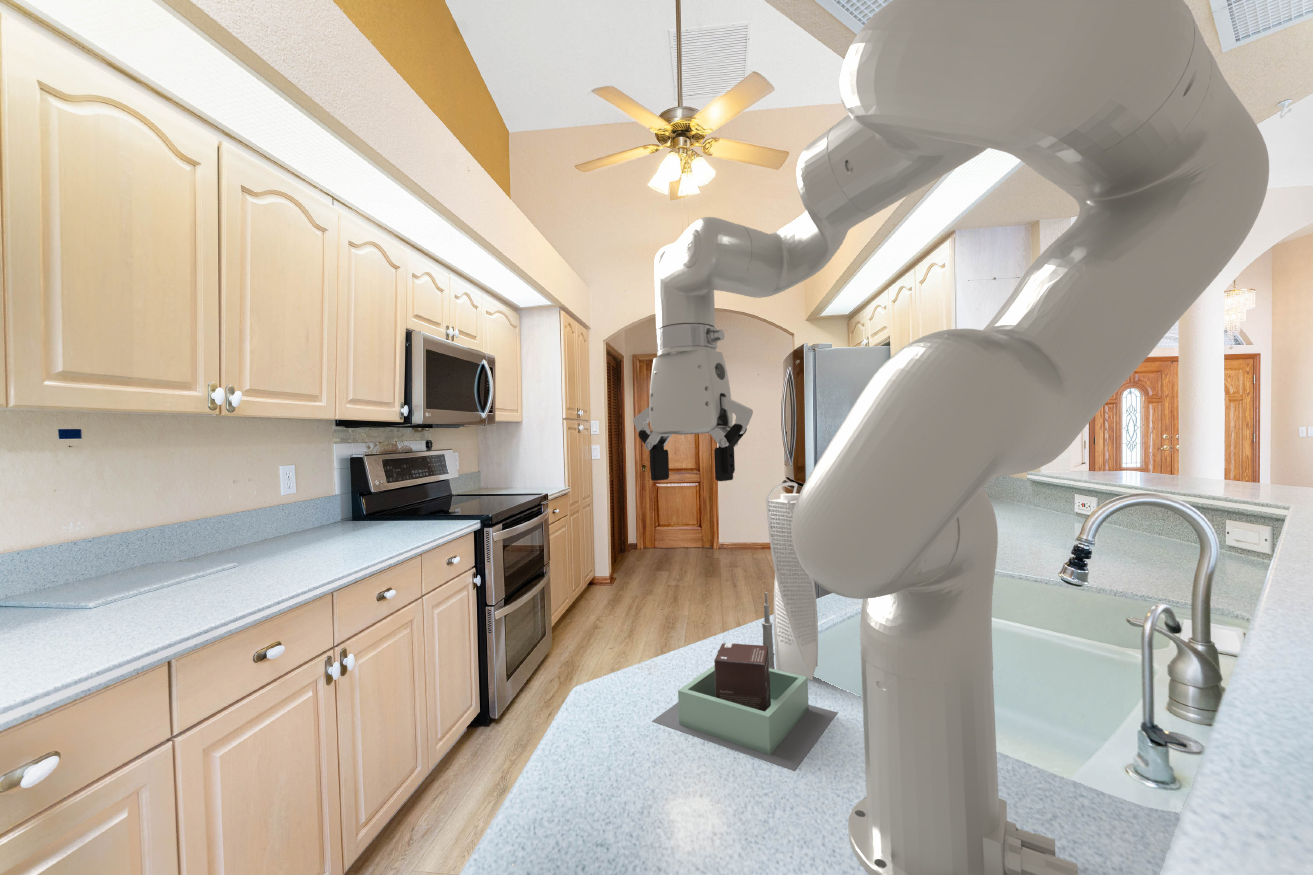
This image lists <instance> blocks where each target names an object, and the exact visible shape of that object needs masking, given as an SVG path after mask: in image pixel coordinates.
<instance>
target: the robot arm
mask: <svg viewBox="0 0 1313 875" xmlns="http://www.w3.org/2000/svg"><path fill="white" fill-rule="evenodd" d="M840 70H841V71H840V73H839V82H838V83H839V84H838V88H839V94H840V100H841V102H842V105H843V107H844V109H845V111H846V113H847V115H846V116H844V117H843V118H841V119H840V120H839V121H838V122H837V123H835V124H834V125H833V126H831V127H830V128H828V129H826V131H825V132H824V133H822V134H820V135H819V136H818V137H817V138H815V139H814V140H813V141H812V142H810V143H809V144H807V145H806V146H805V147H804V148H803V150H802V151H801V153H800V155H799V157H798V160H797V162H796V168H795V177H796V178H795V179H796V186H797V190H798V194H799V196H800V200H801V202H802V205H803V207H804V209H805V211H804V212H803V213H802V214H800V215H799V216H797V218H795V219H794V220H792V221H790V222H789V223H788V224H785V225H784V226H783V227H781V228H780V229H778V230H776V231H774V232H771V233H768V232H765V231H762V230H758V229H755V228H752V227H749V226H745V225H743V224H739V223H734V222H732V221H729V220H727V219H726V220H725V219H723V218H718V217H715V216H704V217H701V218H698V219H696V220H695V221H693V223H691V224H690V225H689V226H688V227H687V228H686V229H685V230H684V231H683V233H682V234H681V235H680V236H679V237H678V239H676V240H675V242H673V243H669V244H667V245H665V246H663V247H661V248H660V249H659V250H658V251H657V252H656V254H655V257H654V261H653V265H654V266H653V272H654V275H653V276H654V277H653V278H654V300H655V301H654V302H655V303H654V305H655V329H656V332H655V333H656V334H655V335H656V357H654V358H653V362H652V365H651V366H652V367H651V373H650V384H649V385H650V386H649V402H648V403H649V406H648V407H646V408H645V409H643V410H642V411H641V412H639V414H637V415H635V417H634V418H633V419H632V420H633V424H634V427H635V429H636V431H637V433H638V438H639V440H640V441H641V442H642V443H643V444H644V447H645V450H647V451H649V472H650V480H651V481H652V482H655V481H656V482H657V481H666V480H669V478H670V464H669V463H670V461H669V451H668V450H669V449H665V447H666V445H667V444H668V443H669V441H670V439H671V438H672V435H676V436H677V435H681V436H683V435H699V434H700V435H701V434H709V435H710V436H711V437H712V438H713V440H714V441H715V442H716V443H717V445H718V447H714V476H715V480H716V481H717V482H727V481H733V479H734V474H735V470H736V466H735V448H736V447H737V446H738V445H739V441H740V440H741V439H743V438H742V437H743V436H744V435H745V434H746V433H747V429H748V428H747V427H748V426H749V424H750V421H751V419H752V416H753V414H754V411H753V409H752V408H751V407H748V406H746V405H745V404H742V403H740V402H738V401H736V400H734V399H732V394H731V387H730V381H729V374H728V370H727V366H726V361H725V358H724V357H725V356H724V354H723V352H721V351H717V349H718V342H720V341H724V340H725V332H724V330H723V329H717V327H716V309H715V308H716V307H715V304H716V303H715V291H718V292H725V293H731V294H735V295H740V296H745V297H749V298H754V299H756V298H757V299H760V298H761V299H762V298H768V297H772V296H776V295H778V294H781V293H783V292H785V291H786V290H787V291H788V290H789V289H791V288H793V287H795V286H796V285H799V284H800V283H802V282H804V281H806V280H808V279H809V278H811V277H813V276H814V275H816V274H817V273H819V272H820V271H821V270H822V269H823V268H825V267H826V265H828V263H829V262H830V261H831V259H833V258H834V256H835V255H836V253H837V252H838V250H839V249H840V248H841V246H842V245H843V243H844V241H845V239H846V237H847V234H848V232H849V231H850V230H851V229H852V228H854V227H856V226H858V225H859V224H860V223H862V222H864V221H866V220H867V219H869V218H871V217H873V216H875V215H876V214H878V213H880V212H881V211H883V210H885V209H887V208H888V207H890V206H892V205H894V204H895V203H897V202H899V201H902V199H904V198H906V197H907V196H909V195H911V194H913V193H915V192H917V191H919V189H922V188H923V187H925V186H927V185H929V184H930V183H932V182H934V181H936V180H938V179H940V178H941V177H943V176H944V175H946V174H948V173H950V172H952V171H953V170H955V169H957V168H959V167H960V166H963V165H964V164H966V163H967V162H969V161H970V160H972V159H975V158H976V157H977V156H979V155H981V154H982V153H983V152H985V151H987V150H988V149H991V150H997V151H999V152H1004V153H1007V154H1010V155H1012V156H1014V157H1015V158H1016V159H1018V160H1020V161H1021V162H1022V163H1024V164H1025V165H1027V166H1028V167H1029V168H1030V169H1031V170H1033V171H1034V172H1035V173H1037V174H1039V175H1040V176H1042V177H1043V178H1044V179H1045V180H1048V181H1049V182H1051V183H1053V184H1054V185H1056V186H1057V187H1058V188H1060V189H1061V190H1062V191H1064V192H1065V193H1067V194H1068V195H1070V196H1071V197H1072V198H1073V199H1074V200H1075V201H1076V202H1077V204H1078V207H1079V212H1078V215H1077V217H1076V219H1075V220H1074V222H1073V223H1072V224H1071V225H1070V226H1069V227H1068V228H1067V229H1066V230H1065V231H1064V232H1063V233H1062V234H1061V235H1060V236H1059V237H1057V238H1055V240H1054V241H1053V242H1052V243H1051V244H1050V245H1049V246H1048V247H1046V249H1045V250H1043V252H1041V254H1040V255H1039V256H1038V257H1037V258H1036V259H1035V260H1034V261H1033V262H1032V264H1031V265H1030V266H1029V268H1028V269H1027V270H1026V271H1025V272H1024V274H1023V276H1022V277H1021V278H1020V280H1019V281H1018V283H1017V285H1016V287H1015V288H1014V289H1013V291H1012V292H1011V294H1010V295H1009V296H1008V298H1007V299H1006V301H1005V302H1004V303H1003V304H1002V306H1001V307H1000V309H998V311H997V312H996V314H995V315H994V316H993V317H992V319H991V320H990V321H989V322H988V324H987V325H986V326H985V327H984V328H983V329H976V328H951V329H950V328H949V329H943V330H938V331H936V332H935V331H934V332H931V333H928V334H926V335H923V336H921V337H918V338H917V339H915V340H913V341H911V342H910V343H908V344H906V345H905V346H903V347H901V348H900V349H898V351H897V352H895V353H894V354H892V356H890V358H888V359H887V360H886V361H885V362H884V363H883V364H882V365H881V366H880V367H879V369H878V370H876V372H875V373H874V375H873V376H872V377H871V378H870V379H869V381H868V382H867V384H866V385H865V386H864V388H863V390H862V391H861V393H860V394H859V396H857V397H858V398H857V399H856V401H855V402H854V403H853V405H852V407H851V408H850V410H849V412H848V414H847V415H846V417H845V418H844V420H843V421H842V423H841V424H840V426H839V428H838V429H837V431H836V432H835V434H834V436H833V437H832V439H831V440H830V442H829V443H828V445H827V446H826V448H825V449H824V451H823V453H822V455H821V456H820V457H819V459H818V461H817V462H816V464H815V465H814V466H813V469H812V471H811V472H810V473H809V475H808V477H807V478H806V481H805V482H804V484H803V486H802V488H801V489H800V492H799V493H798V494H799V496H798V499H797V502H796V505H795V508H794V513H793V518H792V539H793V545H794V549H795V553H796V555H797V558H798V560H799V562H800V564H801V566H802V567H803V569H804V571H805V572H806V573H807V574H808V576H809V577H810V578H811V579H812V580H813V581H814V583H815V584H817V585H818V586H819V587H821V588H822V589H824V590H826V591H828V592H830V593H832V594H834V595H837V596H840V597H844V598H848V599H856V600H862V603H861V612H860V622H859V623H860V625H859V626H860V627H859V628H860V630H859V633H860V634H859V636H860V637H859V640H860V671H861V673H860V674H861V694H862V696H861V697H862V698H861V699H862V700H861V701H862V718H863V720H862V722H863V740H864V741H863V742H864V768H865V769H864V770H865V771H864V772H865V774H864V775H865V792H866V795H865V797H864V798H862V799H861V800H859V801H858V802H857V803H856V804H855V805H854V806H853V807H852V809H851V811H850V813H849V816H848V823H847V832H848V842H849V844H850V848H851V851H852V853H853V855H854V856H855V858H856V860H857V861H858V863H859V864H860V866H861V867H862V869H863V870H864V871H866V873H867V874H868V875H1079V873H1078V871H1079V870H1078V863H1076V862H1073V861H1070V860H1067V859H1064V858H1061V857H1058V856H1056V853H1057V852H1056V839H1055V838H1051V837H1048V836H1045V835H1043V834H1040V833H1036V832H1034V833H1033V832H1030V831H1026V830H1023V829H1021V828H1019V827H1018V825H1017V823H1015V822H1013V821H1009V820H1008V806H1007V803H1008V802H1007V801H1006V800H1005V799H1003V798H1000V796H999V777H998V775H999V774H998V755H997V754H998V753H997V736H996V735H997V733H996V714H995V713H996V712H995V711H996V710H995V693H994V691H995V690H994V672H993V671H994V656H993V655H994V654H993V653H994V652H993V630H992V629H993V628H992V627H993V625H992V623H993V619H992V618H993V617H992V616H993V614H992V613H993V596H994V594H993V593H994V582H995V574H996V573H995V572H996V564H997V559H998V558H997V555H998V545H999V544H998V543H999V536H998V532H999V531H998V523H997V516H996V513H995V509H994V505H993V504H992V502H991V500H990V498H989V495H988V494H987V492H986V491H985V490H984V488H985V487H986V486H987V484H989V483H990V482H991V480H992V479H994V478H1001V477H1009V476H1014V475H1020V474H1023V473H1028V472H1032V471H1036V470H1038V469H1040V468H1043V467H1044V466H1047V465H1048V464H1050V463H1052V462H1054V461H1055V460H1056V459H1057V458H1058V457H1060V456H1061V455H1062V454H1063V453H1065V451H1067V449H1068V448H1069V447H1070V446H1071V445H1072V444H1073V443H1074V441H1075V440H1076V439H1077V438H1078V436H1079V435H1080V434H1081V433H1082V431H1083V430H1084V429H1085V428H1086V427H1087V425H1089V424H1090V422H1091V421H1092V420H1093V418H1094V417H1095V416H1096V414H1097V413H1098V412H1099V411H1101V409H1103V407H1104V405H1106V403H1107V402H1108V401H1109V400H1110V399H1112V397H1113V396H1114V394H1116V393H1117V391H1118V390H1119V389H1120V388H1121V387H1122V385H1124V383H1125V382H1126V381H1127V380H1128V379H1129V378H1130V377H1131V376H1132V375H1133V373H1135V371H1136V370H1137V369H1138V368H1139V367H1140V366H1141V365H1142V363H1144V362H1145V360H1146V359H1147V358H1148V356H1150V354H1151V353H1152V352H1153V350H1154V349H1155V348H1156V346H1158V345H1159V343H1160V342H1161V340H1162V339H1163V338H1164V337H1165V336H1166V334H1167V333H1168V332H1170V330H1172V327H1174V325H1175V324H1176V323H1177V322H1178V321H1179V320H1180V319H1181V318H1182V316H1183V315H1184V314H1185V313H1186V312H1187V311H1188V310H1189V309H1190V307H1192V305H1193V304H1194V303H1195V302H1196V301H1197V300H1198V299H1199V298H1200V296H1202V294H1203V293H1204V292H1205V291H1206V289H1207V288H1208V287H1209V286H1210V285H1211V284H1212V283H1213V281H1215V280H1216V278H1217V277H1218V276H1219V275H1220V273H1221V272H1222V271H1223V270H1224V268H1225V267H1226V266H1227V265H1228V264H1229V262H1230V261H1231V260H1232V258H1233V257H1234V256H1235V255H1236V253H1237V252H1238V250H1239V249H1240V248H1241V246H1242V245H1243V243H1244V242H1245V241H1246V238H1247V237H1248V235H1249V234H1250V232H1251V230H1252V228H1253V227H1254V224H1255V223H1256V221H1257V219H1258V216H1259V214H1260V212H1261V209H1262V207H1263V204H1264V201H1265V198H1266V195H1267V191H1268V186H1269V178H1270V158H1269V151H1268V147H1267V145H1266V142H1265V139H1264V137H1263V135H1262V133H1261V131H1260V129H1259V127H1258V125H1257V123H1256V121H1254V119H1253V116H1251V114H1250V113H1249V112H1248V110H1247V109H1246V107H1245V106H1244V104H1243V103H1242V102H1241V100H1240V99H1239V98H1238V95H1236V93H1235V92H1234V90H1233V89H1232V88H1231V86H1230V84H1229V83H1228V82H1227V80H1226V78H1225V76H1224V75H1223V73H1222V72H1221V69H1220V66H1219V65H1218V63H1217V60H1216V58H1215V56H1214V54H1213V53H1212V51H1211V50H1210V48H1209V47H1208V46H1207V43H1206V41H1205V39H1204V37H1203V35H1202V33H1201V30H1200V28H1199V26H1198V24H1197V21H1196V19H1195V18H1194V14H1193V13H1192V10H1191V9H1190V7H1189V5H1187V3H1186V1H1185V0H891V1H889V2H888V3H887V4H885V5H884V6H883V7H881V8H880V9H879V10H877V12H876V13H875V14H874V15H873V16H872V17H870V18H869V19H868V21H867V22H866V23H865V24H864V26H863V27H862V28H861V29H860V31H859V32H858V33H857V35H856V36H855V38H854V39H853V41H852V43H851V44H850V46H849V48H848V50H847V52H846V55H845V57H844V59H843V62H842V66H841V69H840ZM734 415H735V420H733V418H734ZM733 421H734V423H733ZM649 424H650V426H649ZM650 429H651V430H650Z"/></svg>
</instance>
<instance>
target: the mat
mask: <svg viewBox="0 0 1313 875" xmlns="http://www.w3.org/2000/svg"><path fill="white" fill-rule="evenodd" d="M838 713H839V712H837V711H834V710H830V709H826V708H823V707H818V706H815V705H811V704H809V710H808V711H807V712H806V713H805V714H804V716H803V717H802V718H801V719H800V720H799V722H798V723H797V724H796V725H795V726H794V727H793V729H792V730H791V731H790V732H789V733H788V734H787V736H786V737H785V738H784V739H783V740H782V741H781V743H780V744H779V745H778V746H777V747H776V748H775V750H774V751H773V752H772V753H771V754H770V755H769V754H766V753H763V752H760V751H757V750H754V749H751V748H748V747H745V746H742V745H739V744H736V743H733V742H730V741H727V740H724V739H721V738H718V737H715V736H712V735H710V734H707V733H704V732H701V731H698V730H695V729H692V728H689V727H686V726H683V725H680V724H679V703H678V701H677V702H675V703H674V704H673V705H672V706H671V707H669V708H667V710H665V711H664V712H662V713H661V714H659V715H658V716H657V717H656V718H654V719H653V720H652V721H651V722H652V723H654V724H657V725H660V726H663V727H666V728H669V729H672V730H674V731H677V732H681V733H683V734H687V735H689V736H693V737H694V738H695V737H696V738H699V739H701V740H704V741H706V742H708V743H709V742H710V743H712V744H715V745H718V746H721V747H724V748H726V749H730V750H732V751H735V752H738V753H741V754H743V755H746V756H747V755H748V756H750V757H753V758H755V759H759V760H762V761H764V762H768V763H770V764H773V765H776V766H779V767H780V768H784V769H787V770H791V771H793V772H795V771H796V770H797V769H798V767H800V764H801V763H802V762H803V760H804V759H805V758H806V757H807V756H808V754H809V753H810V751H811V750H812V748H813V747H814V746H815V744H816V743H817V742H818V740H819V739H820V738H821V737H822V735H823V733H824V732H825V731H826V730H827V728H828V726H829V725H830V724H831V723H832V721H833V720H834V719H835V717H836V716H837V715H838Z"/></svg>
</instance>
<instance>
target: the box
mask: <svg viewBox="0 0 1313 875" xmlns="http://www.w3.org/2000/svg"><path fill="white" fill-rule="evenodd" d="M713 662H714V663H713V664H714V665H715V697H716V698H719V699H722V700H726V701H729V702H733V703H736V704H740V705H743V706H747V707H750V708H754V709H757V710H761V711H764V712H765V711H766V710H767V709H768V708H769V707H770V706H771V697H770V676H769V656H768V646H764V645H763V644H762V645H761V644H745V643H732V642H731V643H730V642H727V643H726V642H724V643H721V645H720V647H719V649H718V650H717V654H716V656H715V658H714V661H713Z"/></svg>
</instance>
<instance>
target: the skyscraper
mask: <svg viewBox="0 0 1313 875" xmlns="http://www.w3.org/2000/svg"><path fill="white" fill-rule="evenodd" d="M787 486H794V488H793V492H792V493H780V498H777V499H776V498H775V499H770V498H771V496H772V494H773V493H774V492H775V491H777V490H778V489H779V488H782V487H787ZM797 490H798V483H796V482H793V481H788V482H786V481H785V482H782V483H779V484H777V485H775V486H774V487H772V489H771V490H770V491H769V493H768V495H767V497H766V499H765V504H766V517H767V518H766V519H767V526H768V527H767V528H768V538H769V539H768V540H769V545H770V546H769V547H770V553H771V558H772V564H773V565H772V566H773V569H774V583H773V584H774V585H773V586H774V587H773V589H774V590H773V622H771V618H770V617H771V616H770V615H771V614H770V604H769V603H768V600H769V598H768V591H767V592H764V600H765V602H764V604H763V609H764V611H763V613H764V614H763V618H764V621H762V623H761V625H762V645H764V646H768V656H769V668H771V669H775V670H780V671H784V672H788V673H792V674H797V675H801V676H805V677H807V678H808V680H810V681H814V679H813V678H814V676H815V671H816V669H817V668H816V667H818V660H819V659H818V658H819V623H818V620H819V619H818V618H819V616H818V605H817V604H818V603H817V595H816V594H817V593H816V588H815V581H813V580H812V579H811V578H810V577H809V576H808V574H807V573H806V572H805V571H804V569H803V567H802V566H801V564H800V562H799V560H798V558H797V555H796V553H795V549H794V545H793V539H792V518H793V513H794V508H795V505H796V502H797V499H798V496H799V494H800V493H797ZM773 631H774V632H773ZM773 633H774V636H773ZM773 637H774V638H773ZM773 639H774V641H773Z"/></svg>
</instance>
